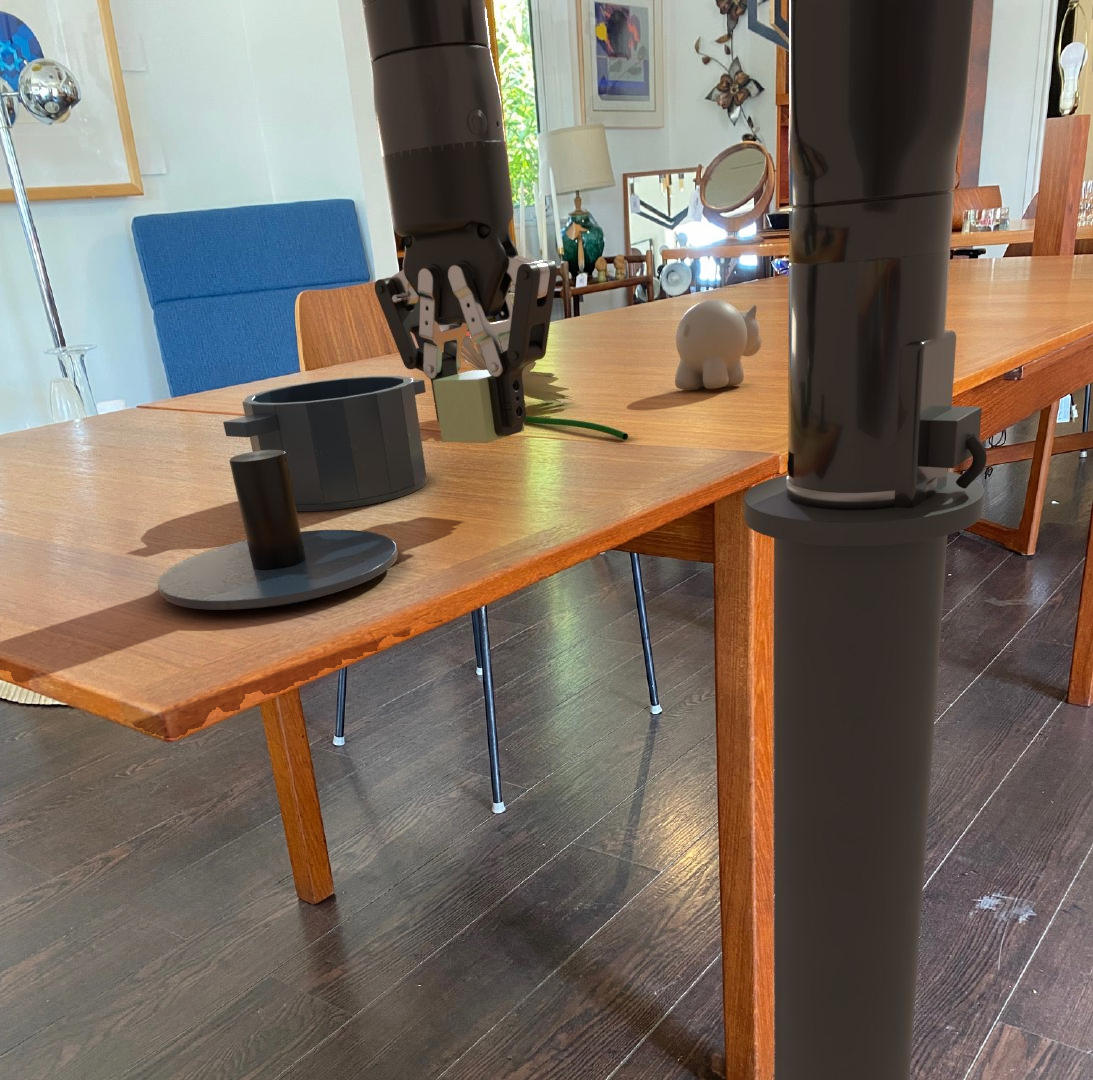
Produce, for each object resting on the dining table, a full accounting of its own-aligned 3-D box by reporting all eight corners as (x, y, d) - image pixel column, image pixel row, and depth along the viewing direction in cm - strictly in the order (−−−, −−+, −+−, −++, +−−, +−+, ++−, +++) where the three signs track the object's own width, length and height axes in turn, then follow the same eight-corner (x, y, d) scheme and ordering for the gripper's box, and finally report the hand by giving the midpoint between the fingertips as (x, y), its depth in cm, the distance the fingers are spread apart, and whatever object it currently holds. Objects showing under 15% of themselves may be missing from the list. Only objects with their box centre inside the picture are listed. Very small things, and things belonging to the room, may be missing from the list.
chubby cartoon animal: (788, 375, 113) (788, 290, 110) (718, 395, 106) (716, 303, 103) (733, 374, 118) (732, 291, 115) (663, 392, 111) (659, 305, 107)
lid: (447, 559, 62) (430, 434, 59) (265, 635, 53) (234, 492, 49) (295, 538, 70) (274, 427, 67) (114, 602, 60) (79, 476, 57)
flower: (585, 371, 85) (437, 316, 108) (554, 435, 86) (415, 367, 109) (697, 438, 93) (537, 373, 116) (667, 495, 94) (515, 420, 117)
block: (525, 430, 72) (517, 368, 70) (487, 443, 69) (478, 379, 67) (480, 430, 74) (471, 370, 72) (441, 442, 71) (432, 380, 70)
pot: (482, 468, 84) (470, 370, 81) (312, 527, 72) (290, 413, 69) (373, 461, 91) (358, 370, 88) (201, 513, 79) (177, 409, 76)
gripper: (574, 125, 63) (601, 423, 70) (402, 158, 71) (442, 422, 78) (494, 126, 57) (532, 448, 65) (317, 162, 66) (369, 444, 73)
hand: (482, 432), depth 71 cm, fingers closed on block, 4 cm apart
